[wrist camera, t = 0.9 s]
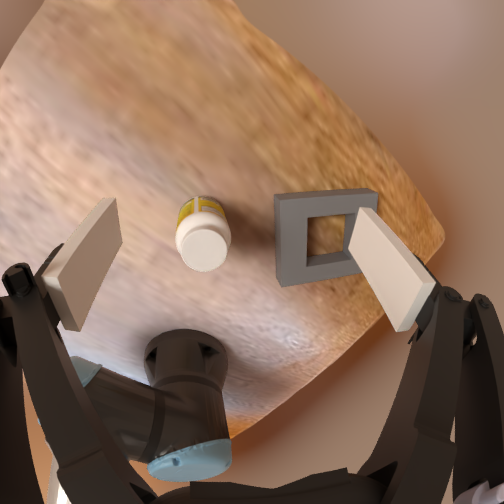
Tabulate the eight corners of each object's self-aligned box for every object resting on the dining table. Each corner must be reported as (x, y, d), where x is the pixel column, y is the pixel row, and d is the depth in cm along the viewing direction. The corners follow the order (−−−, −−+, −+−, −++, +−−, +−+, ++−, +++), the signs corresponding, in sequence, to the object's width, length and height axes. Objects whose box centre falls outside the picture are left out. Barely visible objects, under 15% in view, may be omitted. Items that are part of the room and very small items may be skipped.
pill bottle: (185, 242, 38) (182, 285, 29) (173, 201, 36) (164, 231, 26) (228, 232, 39) (240, 271, 29) (219, 189, 36) (228, 215, 26)
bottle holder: (360, 262, 46) (369, 271, 43) (276, 277, 44) (281, 287, 41) (367, 188, 40) (378, 193, 37) (273, 194, 38) (279, 200, 35)
